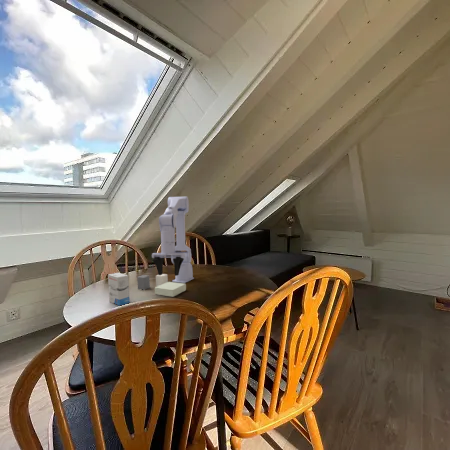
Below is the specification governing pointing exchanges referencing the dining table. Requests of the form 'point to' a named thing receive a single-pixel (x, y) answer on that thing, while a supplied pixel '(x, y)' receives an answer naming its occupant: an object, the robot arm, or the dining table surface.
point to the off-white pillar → (161, 279)
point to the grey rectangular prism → (143, 282)
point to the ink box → (118, 288)
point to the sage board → (170, 289)
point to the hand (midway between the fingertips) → (168, 275)
